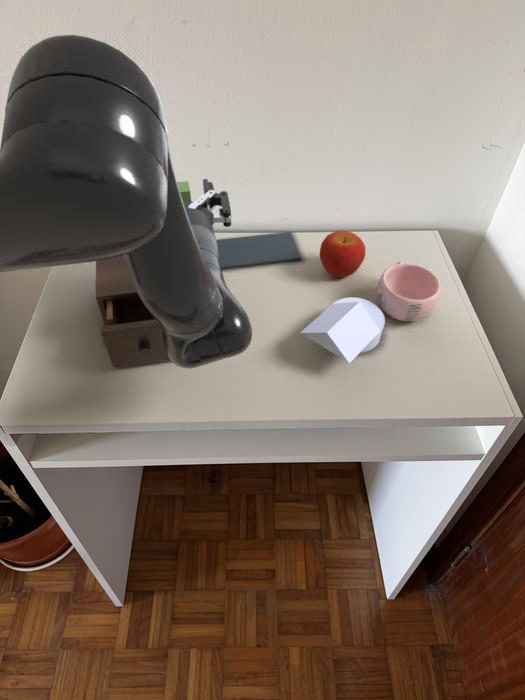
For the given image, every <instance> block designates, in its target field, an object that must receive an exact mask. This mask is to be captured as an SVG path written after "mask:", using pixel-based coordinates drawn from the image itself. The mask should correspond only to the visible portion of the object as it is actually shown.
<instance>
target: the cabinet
mask: <svg viewBox="0 0 525 700" xmlns="http://www.w3.org/2000/svg"><path fill="white" fill-rule="evenodd" d="M134 296H139V295H138V293H137V291H136V289H135V286H134V284H133V281H132V278H131V275H130V273H129V270H128V267H127V264H126V261H125V258H124V255H122V256H118V257H114V258H109V259H105V260H99V261H95V299H96V303H97V306H98V309H99V312H100V316H101V320H102V323H103V326H108V322H107V300H109V299H117V298H125V297H134Z"/></svg>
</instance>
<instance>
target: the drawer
mask: <svg viewBox="0 0 525 700" xmlns="http://www.w3.org/2000/svg"><path fill="white" fill-rule="evenodd" d="M107 322H108V326H105V325H102V326H101V335H102V338H103V341H104V346H105V348H106V350H107V354H108V357H109V360H110V363H111V366H112V368H113V369H115V368H122V367H129V366H137V365H143V364H149V363H158V362H164V361H171V360H170V358H169V357H168V355H167V353H166V350H165V346H164V342H163V335H162V326H161V324H160V323H159V322H158V321H157V320H156V319H155V317H154V316H153V315H152V314H151V313H150V311H149V310H148V309H147V308H146V306H145V305H144V304H143V302H142V300H141V298H140V297H139V296H134V297H125V298H117V299H109V300H107Z"/></svg>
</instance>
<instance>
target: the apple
mask: <svg viewBox="0 0 525 700" xmlns="http://www.w3.org/2000/svg"><path fill="white" fill-rule="evenodd" d="M365 257H366V244H365V243H364V241H363V240H362V239H361V237H359V236H358V235H357V234H356V233H354V232H351V231H349V230H336V231H333V232H331V233H329V234H327V235H326V237H325V238H324V239H323V241H322V242H321V243H320V248H319V259H320V261H321V264H322V266H323V268H324V271H325V272H326V273H328V274H329V275H330V276H333V277H337V278H346V277H347V278H349V276H352V275H353V274H355V273H356V272H357V271H358V270H359V269H360V267H361V265H362V263H363V262H364V260H365Z"/></svg>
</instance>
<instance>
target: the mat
mask: <svg viewBox="0 0 525 700" xmlns="http://www.w3.org/2000/svg"><path fill="white" fill-rule="evenodd" d="M216 241H217V245H218V249H219V254H220V265H221V269H222V270H227V269H235V268H245V267H253V266H261V265H270V264H279V263H287V262H294V261H301V260H302V256H301V253H300V252H299V248H298V246H297V244H296V242H295V239H294V237H293V235H292V232H291V231H288V232H279V233H278V232H277V233H268V234H260V235H249V236H240V237H232V238H223V239H222V238H221V239H216Z"/></svg>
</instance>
